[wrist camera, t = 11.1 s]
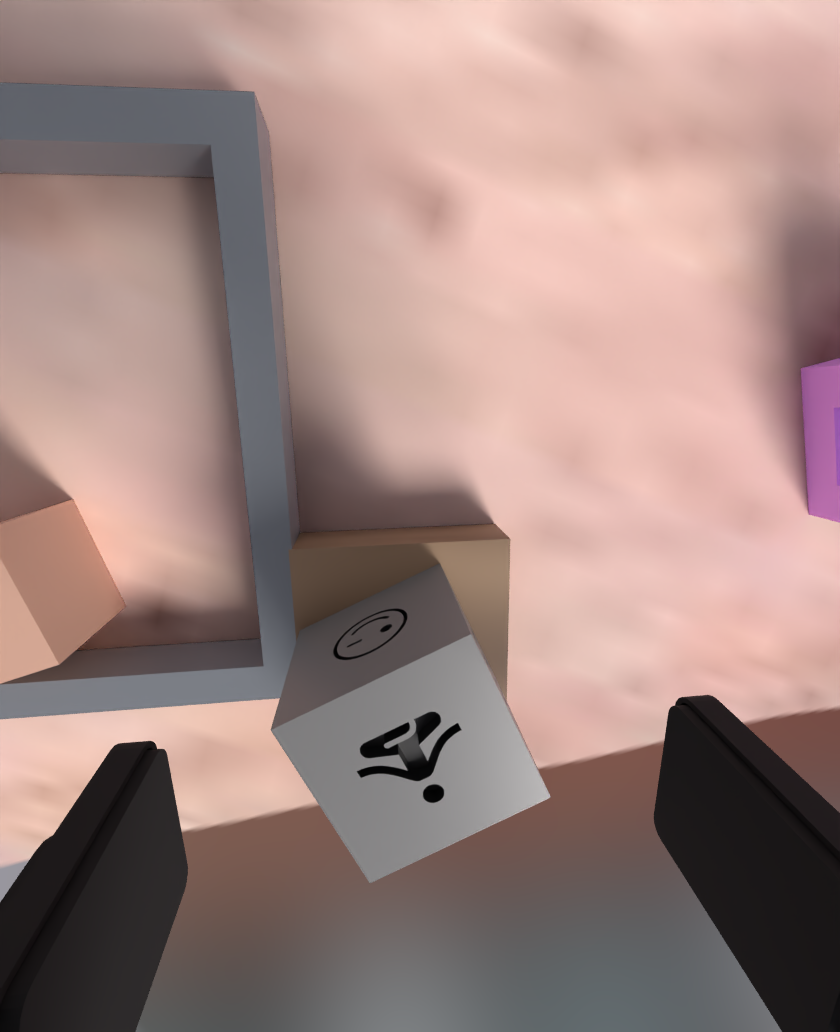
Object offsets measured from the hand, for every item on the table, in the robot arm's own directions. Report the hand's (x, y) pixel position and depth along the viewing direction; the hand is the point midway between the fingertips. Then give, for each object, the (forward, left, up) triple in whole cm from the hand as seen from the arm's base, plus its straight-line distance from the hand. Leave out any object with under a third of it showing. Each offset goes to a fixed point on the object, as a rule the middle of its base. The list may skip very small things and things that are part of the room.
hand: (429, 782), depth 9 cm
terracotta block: (-1, -12, -10) cm, 15 cm away
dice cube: (+2, 0, -8) cm, 8 cm away
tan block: (+1, 0, -9) cm, 9 cm away
